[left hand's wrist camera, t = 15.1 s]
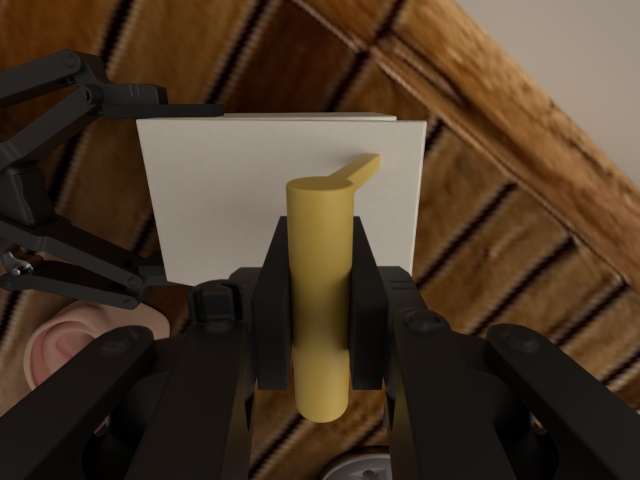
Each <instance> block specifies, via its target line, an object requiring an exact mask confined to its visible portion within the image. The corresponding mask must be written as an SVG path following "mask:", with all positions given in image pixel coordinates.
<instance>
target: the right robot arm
mask: <svg viewBox="0 0 640 480" xmlns="http://www.w3.org/2000/svg"><path fill="white" fill-rule="evenodd" d="M104 68H105V66H104V63H103V61H102V60H101V59H100V58H99V57H98V56H95V55H92V54H87V53H83V52H78V51H73V50H69V49H67V50H62V51H59V52H56V53H54V54H51V55H48V56H45V57H42V58H40V59H37V60H34V61H31V62H28V63H26V64H23V65H20V66H17V67H14V68H12V69H9V70H6V71H3V72H0V108H4V107H9V106H13V105H16V104H19V103H22V102H24V101H27V100H30V99H33V98H36V97H39V96H42V95H45V94H48V93H51V92H53V91H56V90H59V89H62V88H65V87H68V86H71V85H74V86H75V87H79V88H78V89H76V90H75V91H74V92H72V93H71V94H70V95H68V96H67V97H65V98H64V99H63V100H61V101H60V102H59V103H57V104H56V105H55V106H53V107H52V108H51V109H49V110H48V111H47V112H45V113H44V114H42V115H41V116H40V117H38V118H37V119H36V120H34V121H33V122H32V123H30V124H29V125H28V126H26V127H25V128H24V129H22V130H21V131H19V132H18V133H17V134H15V135H14V136H13V137H11V138H10V139H8V140H7V141H4V142H1V143H0V262H1V264H2V266H3V268H4V270H5V272H6V274H4V275H2V276H1V277H0V287H1V288H2V289H4V290H7V291H13V290H26V289H34V290H39V291H44V292H48V293H53V294H57V295H62V296H67V297H71V298H76V299H80V300H85V301H90V302H94V303H99V304H104V305H108V306H113V307H117V308H122V309H127V310H134V309H135V308H137V306H138V305H139V304H140V303H141V302H142V301H143V300H144V299H145V297H146V296H147V295H148V294H149V293H150V292H151V290H152V286H155V285H184V284H180V283H175V282H170V281H167V277H166V272H165V267H164V262H163V256H162V251H154V252H153V253H152V254H151V255H150V256H148V257H147V258H143V257H141V256H139V255H137V254H135V253H132V252H130V251H128V250H126V249H124V248H121V247H119V246H117V245H115V244H112V243H110V242H108V241H106V240H104V239H101V238H99V237H97V236H95V235H93V234H90V233H88V232H86V231H84V230H82V229H79V228H77V227H75V226H73V225H72V224H71V221H70V220H68V219H66V218H64V217H62V216H60V215H58V214H55V213H53V212H55V211H54V208H53V205H52V202H51V200H50V198H49V196H48V195H47V193H46V191H45V179H44V175H43V172H42V169H37V168H36V166H35V165H37V164H38V163H40V162H41V161H43V160H44V159H45V158H47V157H48V156H50V155H51V152H52V151H53V150H54V149H56V148H57V147H59V146H60V145H61V144H63V143H64V142H66V141H67V140H68V139H70V138H71V137H73V136H74V135H76V134H77V133H78V132H80V131H81V130H83V129H84V128H85V127H87V126H88V125H90V124H91V123H93V122H94V121H95V120H97V119H98V118H100V117H101V116H102V115H104V119H120V118H183V117H218V116H224V108H223V104H174V105H168V99H167V93H166V88H164V87H161V86H158V85H153V84H114V83H112V82H111V81H110V80H109V79H108V77H107V76H106V74H105V72H104ZM21 246H22V247H25V248H27V249H29V250H32V251H46V252H49V253H51V254H53V255H55V256H58V257H60V258H62V259H65V260H67V261H69V262H72V263H74V264H76V265H73V264H69V263H64V262H59V261H51V260H45V261H44V258H43V257H42V256H40V255H37V256H32V255H27V254H25V253H24V252H23V251H22V250H21V249H20V247H21ZM77 265H79V266H77Z"/></svg>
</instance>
